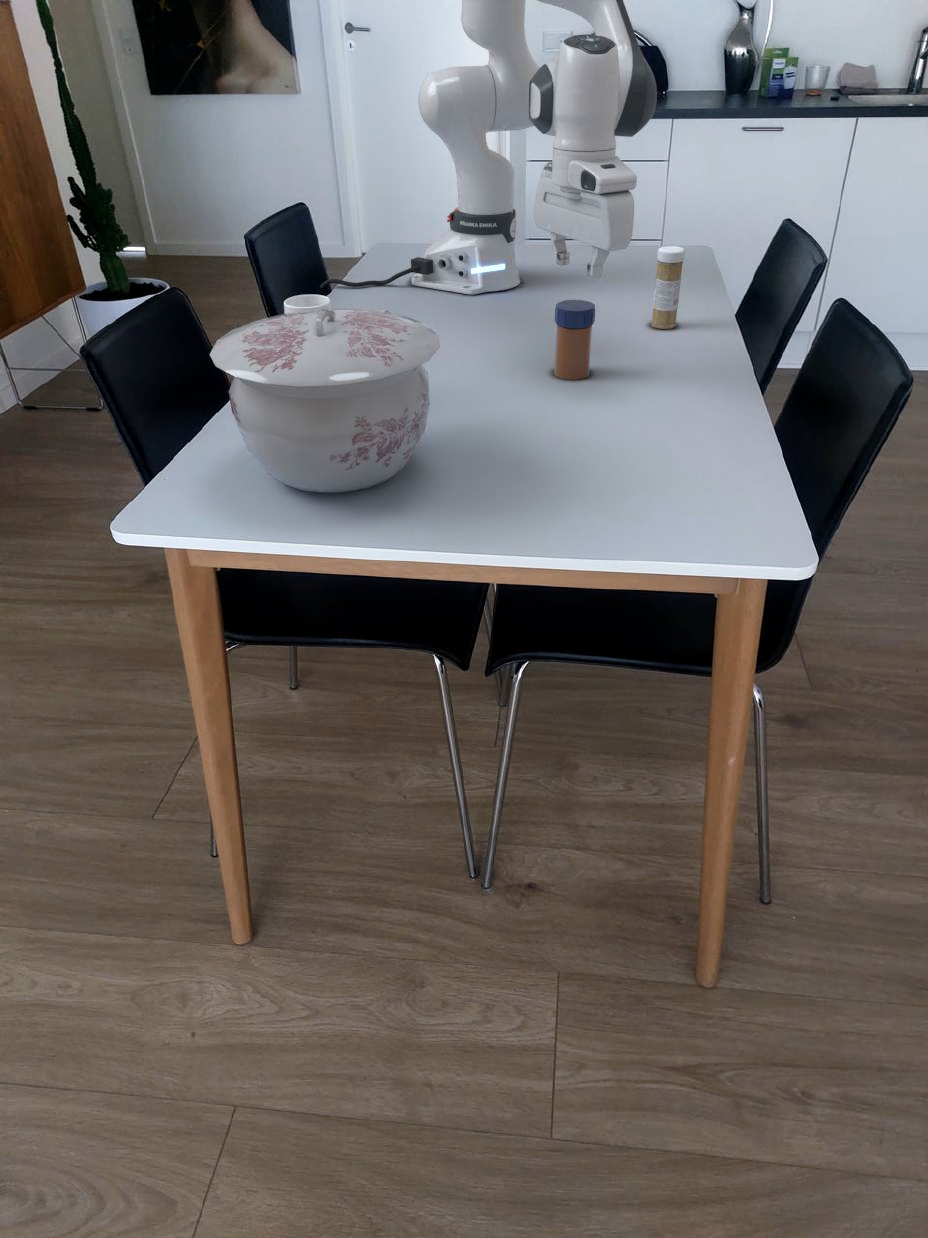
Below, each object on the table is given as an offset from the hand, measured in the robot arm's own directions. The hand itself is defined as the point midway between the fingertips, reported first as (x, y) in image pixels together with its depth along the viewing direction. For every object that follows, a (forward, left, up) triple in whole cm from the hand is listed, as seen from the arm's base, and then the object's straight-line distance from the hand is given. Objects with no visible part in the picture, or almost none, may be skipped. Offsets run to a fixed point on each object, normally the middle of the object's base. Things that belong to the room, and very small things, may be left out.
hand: (577, 270), depth 142 cm
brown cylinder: (0, 0, -16) cm, 16 cm away
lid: (0, 0, -6) cm, 6 cm away
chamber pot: (-19, -44, -16) cm, 51 cm away
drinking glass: (-33, -24, -16) cm, 44 cm away
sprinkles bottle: (+9, +29, -16) cm, 35 cm away
